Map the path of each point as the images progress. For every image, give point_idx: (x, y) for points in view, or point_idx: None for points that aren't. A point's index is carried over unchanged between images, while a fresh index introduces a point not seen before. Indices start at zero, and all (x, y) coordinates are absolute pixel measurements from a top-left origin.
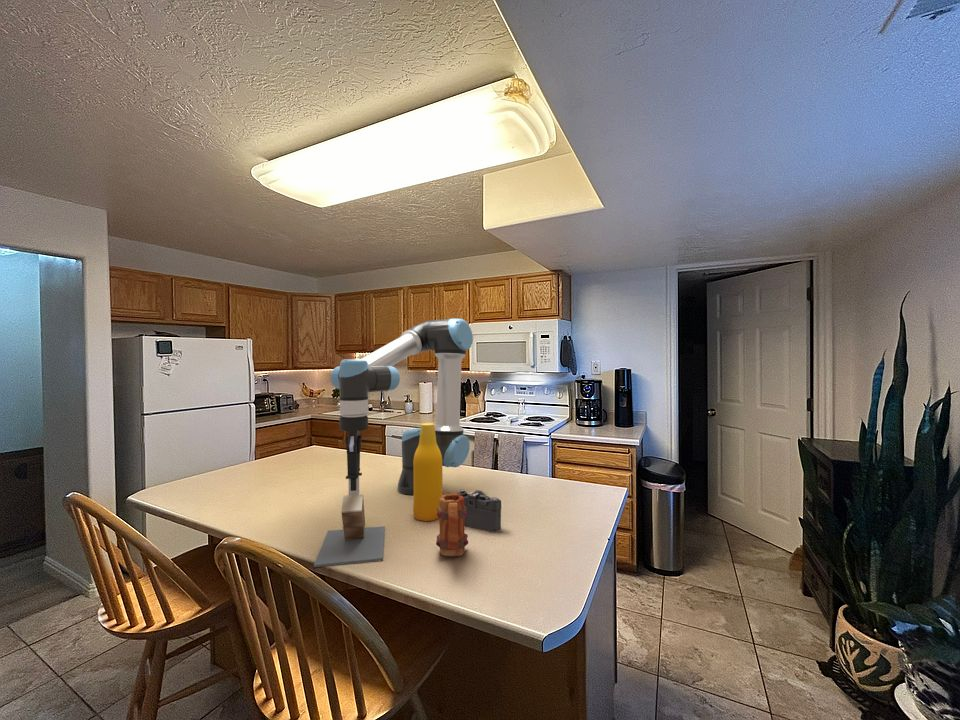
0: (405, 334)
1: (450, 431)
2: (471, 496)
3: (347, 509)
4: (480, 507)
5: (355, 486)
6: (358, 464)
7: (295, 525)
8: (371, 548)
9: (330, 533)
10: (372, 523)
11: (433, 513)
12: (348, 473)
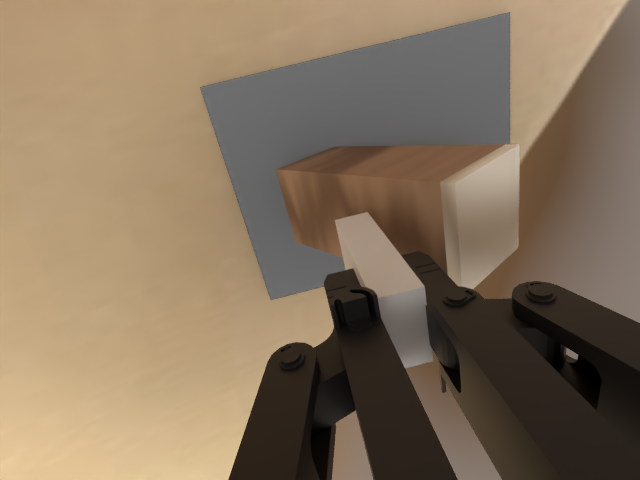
0: None
1: None
2: None
3: (513, 223)
4: None
5: (437, 266)
6: (418, 404)
7: (222, 409)
8: (425, 85)
9: (293, 282)
10: (159, 164)
11: None
12: (594, 378)
